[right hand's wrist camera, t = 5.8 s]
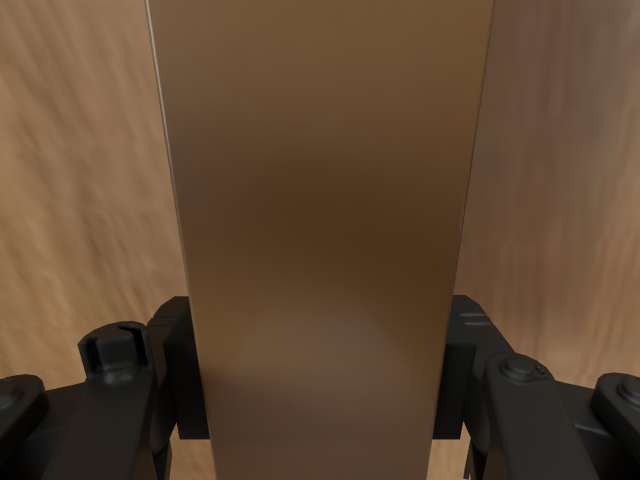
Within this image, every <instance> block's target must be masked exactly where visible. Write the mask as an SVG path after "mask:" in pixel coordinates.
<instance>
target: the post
mask: <svg viewBox="0 0 640 480" xmlns="http://www.w3.org/2000/svg"><path fill="white" fill-rule="evenodd" d="M144 2H145V8H146V15H147V22H148V28H149V35H150V42H151V48H152V55H153V62H154V68H155V75H156V82H157V88H158V95H159V102H160V108H161V115H162V122H163V128H164V135H165V142H166V148H167V155H168V162H169V168H170V175H171V182H172V188H173V195H174V202H175V208H176V215H177V222H178V228H179V235H180V242H181V248H182V255H183V262H184V268H185V275H186V282H187V288H188V295H189V302H190V308H191V315H192V322H193V328H194V335H195V342H196V348H197V355H198V362H199V368H200V375H201V382H202V388H203V395H204V402H205V408H206V415H207V422H208V428H209V435H210V442H211V448H212V455H213V462H214V468H215V475H216V480H426V478H427V471H428V464H429V457H430V450H431V444H432V437H433V430H434V423H435V416H436V409H437V402H438V395H439V388H440V381H441V374H442V367H443V360H444V353H445V346H446V339H447V332H448V325H449V318H450V311H451V304H452V297H453V290H454V283H455V277H456V270H457V263H458V256H459V249H460V242H461V235H462V228H463V221H464V214H465V207H466V200H467V193H468V186H469V179H470V172H471V165H472V158H473V151H474V144H475V137H476V130H477V123H478V117H479V110H480V103H481V96H482V89H483V82H484V75H485V68H486V61H487V54H488V47H489V40H490V33H491V26H492V19H493V12H494V5H495V0H144Z"/></svg>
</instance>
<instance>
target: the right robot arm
mask: <svg viewBox="0 0 640 480" xmlns="http://www.w3.org/2000/svg"><path fill="white" fill-rule="evenodd" d="M78 348H79V351H80V355H81V359H82V362H83V366H84V369H85V373H86V376H87V378H86V380H85V382H83V383H79V384H75V385H71V386H66V387H61V388H57V389H52V390H47V391H46V390H45V387H44V384H43V381H42V380H41V379H40V378H39V377H37V376H35V375H28V374H24V375H16V376H10V377H6V378H4V379H0V480H169V477H170V469H171V460H172V451H171V444H170V439H169V438H170V436H171V434H172V431H173V429H174V427H175V425H176V422H177V427H178V432H179V438H180V439H210V435H209V428H208V422H207V415H206V408H205V402H204V395H203V388H202V382H201V375H200V368H199V362H198V355H197V348H196V342H195V335H194V328H193V322H192V315H191V308H190V302H189V296H175V297H173V298H172V299H170V300H169V301H167V302H166V303H164V304H163V305H161V306H160V308H159V309H158V310H157V312H156V313H155V314H154V316H153V318H151V320H150V321H149V322H148V324H147V327H146V326H145V325H144V324H143V323H139V322H135V321H121V322H116V323H112V324H108V325H105V326H103V327H100V328H98V329H95V330H94V331H92V332H90V333H89V334H87V335H86V336H84V337H83V338H82V340H81V341H80V342H79V343H78ZM463 421H464V423H465V426H466V428H467V430H468V433H469V435H470V437H471V439H470V444H469V449H468V454H467V460H466V465H465V470H464V477H463V479H469V474H470V476H471V480H640V377H636V376H633V375H629V374H622V373H615V372H614V373H607V374H603V375H602V376H601V377H599V378H598V380H597V383H596V386H595V389H591V388H586V387H582V386H577V385H572V384H568V383H563V382H560V381H556V380H555V379H554V377H553V376H552V374H551V373H550V372H549V370H548V369H547V368H546V367H545V366H543V365H542V364H541V363H539V362H538V361H536V360H534V359H532V358H530V357H528V356H526V355H522V354H518V353H515V352H514V350H513V349H512V348H511V346H510V345H509V344H508V342H507V341H506V340H505V338H504V337H503V336H502V334H501V333H500V332H499V330H498V329H497V328H496V326H495V325H493V322H492V321H491V320H490V318H489V317H487V316H486V313H485V312H484V311H483V309H482V308H481V307H480V305H479V304H478V303H476V302H475V301H473V300H472V299H470V298H469V297H467V296H465V295H453V297H452V304H451V311H450V318H449V325H448V332H447V339H446V346H445V353H444V360H443V367H442V374H441V381H440V388H439V395H438V402H437V409H436V416H435V423H434V430H433V437H432V439H460V436H461V430H462V425H463Z"/></svg>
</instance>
